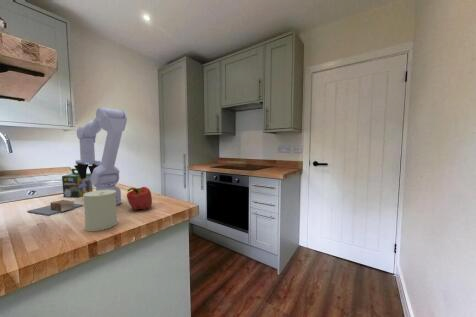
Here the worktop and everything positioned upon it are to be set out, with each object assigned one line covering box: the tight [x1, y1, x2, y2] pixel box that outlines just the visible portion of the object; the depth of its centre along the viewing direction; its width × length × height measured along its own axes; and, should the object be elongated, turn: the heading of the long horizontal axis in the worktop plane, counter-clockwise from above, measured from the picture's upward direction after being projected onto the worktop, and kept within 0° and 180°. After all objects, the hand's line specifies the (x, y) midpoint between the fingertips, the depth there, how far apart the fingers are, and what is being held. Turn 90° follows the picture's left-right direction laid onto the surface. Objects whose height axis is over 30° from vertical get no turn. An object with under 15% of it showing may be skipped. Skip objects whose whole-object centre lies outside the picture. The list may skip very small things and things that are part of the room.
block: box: [50, 199, 75, 212], centre depth 82 cm, size 3×4×6 cm
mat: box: [26, 202, 84, 217], centre depth 84 cm, size 13×13×1 cm
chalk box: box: [61, 168, 94, 198], centre depth 106 cm, size 9×9×15 cm
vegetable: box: [126, 186, 153, 211], centre depth 84 cm, size 11×10×10 cm
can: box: [82, 190, 118, 232], centre depth 67 cm, size 9×9×12 cm
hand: (88, 179), depth 98 cm, fingers open, 7 cm apart
